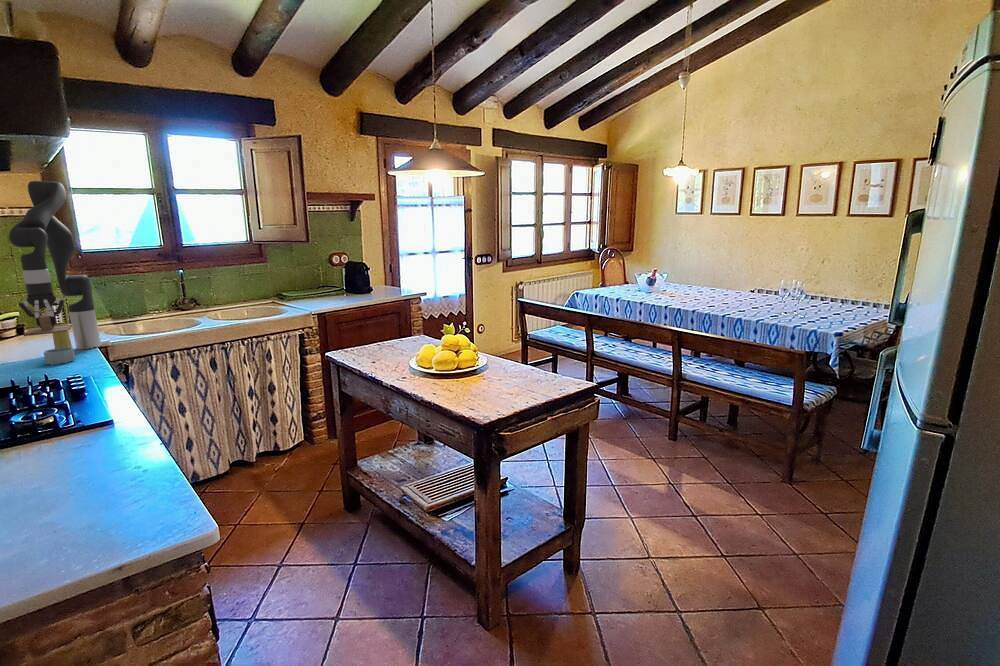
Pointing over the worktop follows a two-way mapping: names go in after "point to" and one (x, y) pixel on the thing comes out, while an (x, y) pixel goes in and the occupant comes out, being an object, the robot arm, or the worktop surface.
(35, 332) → the lid
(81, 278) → the robot arm
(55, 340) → the vase
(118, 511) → the worktop surface
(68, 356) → the bowl
